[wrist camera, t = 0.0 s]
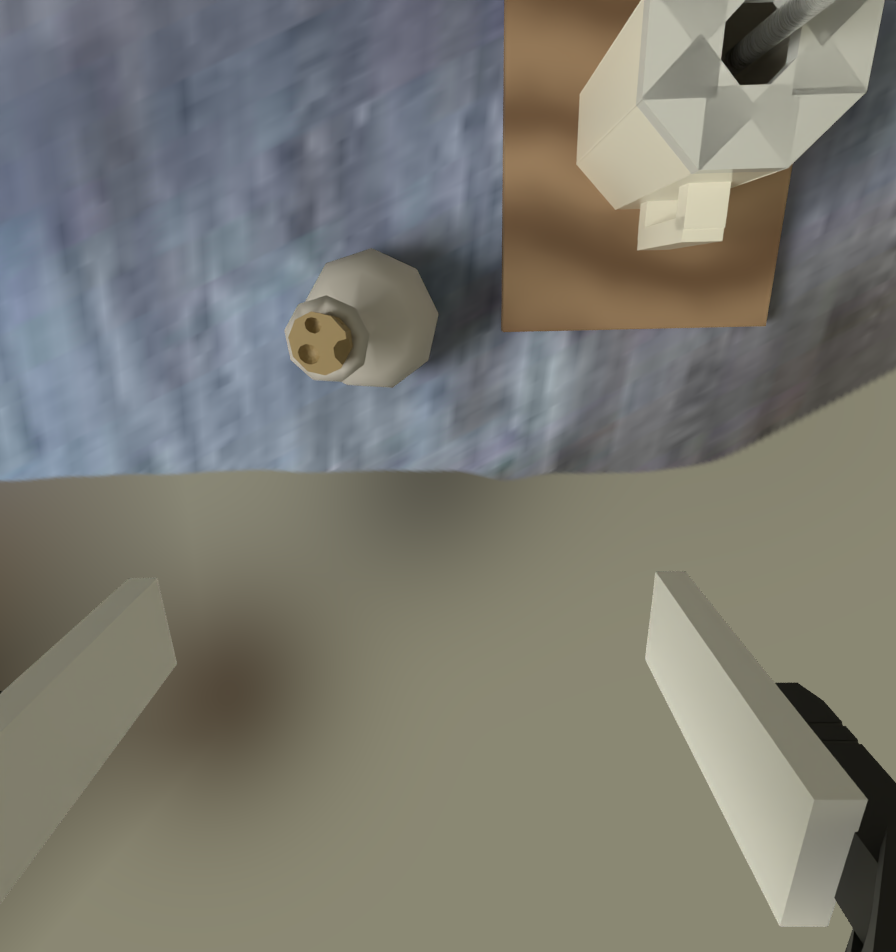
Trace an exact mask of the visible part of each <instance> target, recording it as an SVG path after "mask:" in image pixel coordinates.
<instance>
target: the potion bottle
mask: <svg viewBox="0 0 896 952" xmlns="http://www.w3.org/2000/svg"><path fill="white" fill-rule="evenodd" d="M438 315H439V314H438V312H437V310H436V307H435V305H434V303H433V301H432V299H431V297H430V295H429V293H428V291H427V289H426V287H425V285H424V283H423V281H422V279H421V277H420V275H419V273H418V271H417V269H416V268H414V267H411V266H409V265H407V264H405V263H403V262H400V261H398V260H396V259H394V258H392V257H390V256H387V255H385V254H383V253H381V252H379V251H376V250H374V249H372V248H371V249H368V250H365V251H362V252H359V253H356V254H353V255H350V256H347V257H344V258H341V259H338V260H335V261H332V262H329V263H326V264H325V266H324V268H323V270H322V272H321V273H320V275H319V277H318V279H317V281H316V283H315V285H314V286H313V288H312V290H311V292H310V294H309V296H308V298H307V299H306V301H305V302H304V303H301V304H298V306H297V308H296V310H295V312H294V313H293V315H292V317H291V319H290V321H289V323H288V325H287V326H286V328H285V335H286V340H287V344H288V349H289V354H290V359H291V361H293V362H294V363H295V364H296V365H297V366H298V367H299V368H301V369H302V370H303V371H304V372H305V373H306V374H307V375H308V376H310V377H311V378H312V379H313V380H323V381H340V382H343V383H345V384H347V385H359V386H375V387H392V388H393V387H394V386H395V385H397V384H398V383H399V382H401V381H402V380H403V379H405V378H406V377H407V376H408V375H410V374H411V373H412V372H414V371H415V370H416V369H418V368H419V367H420V366H422V365H423V364H424V363H426V362H427V361H428V360H429V355H430V351H431V346H432V342H433V337H434V333H435V328H436V324H437V319H438Z"/></svg>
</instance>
